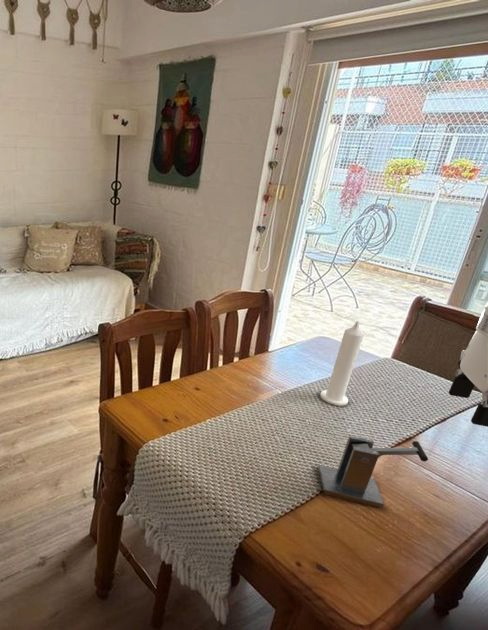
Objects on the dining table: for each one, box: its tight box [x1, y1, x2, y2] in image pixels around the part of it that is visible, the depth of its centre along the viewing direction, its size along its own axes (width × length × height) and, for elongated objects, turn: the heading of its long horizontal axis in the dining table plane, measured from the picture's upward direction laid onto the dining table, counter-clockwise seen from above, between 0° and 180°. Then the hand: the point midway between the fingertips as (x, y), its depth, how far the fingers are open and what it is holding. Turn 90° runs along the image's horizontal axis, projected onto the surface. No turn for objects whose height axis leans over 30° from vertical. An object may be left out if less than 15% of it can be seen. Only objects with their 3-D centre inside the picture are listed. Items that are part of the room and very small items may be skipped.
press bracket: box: [317, 435, 385, 509], centre depth 94 cm, size 11×8×12 cm
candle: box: [319, 320, 365, 407], centre depth 123 cm, size 7×7×25 cm
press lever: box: [352, 440, 429, 462], centre depth 90 cm, size 12×5×2 cm, turn 69°
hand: (469, 409), depth 82 cm, fingers open, 9 cm apart
